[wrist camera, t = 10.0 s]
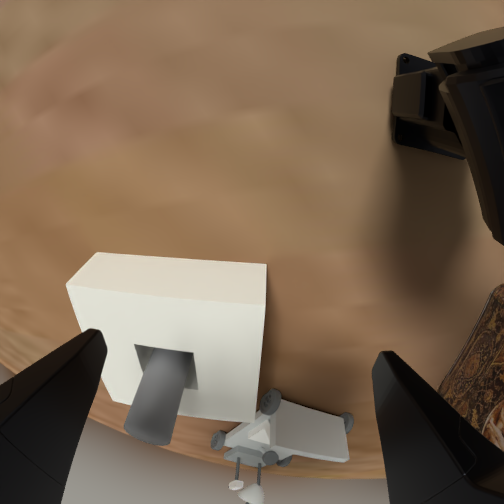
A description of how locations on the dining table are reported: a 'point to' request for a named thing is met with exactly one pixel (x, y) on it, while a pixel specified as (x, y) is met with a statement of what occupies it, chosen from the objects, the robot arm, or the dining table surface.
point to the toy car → (282, 439)
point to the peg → (158, 396)
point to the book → (481, 373)
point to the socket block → (178, 326)
